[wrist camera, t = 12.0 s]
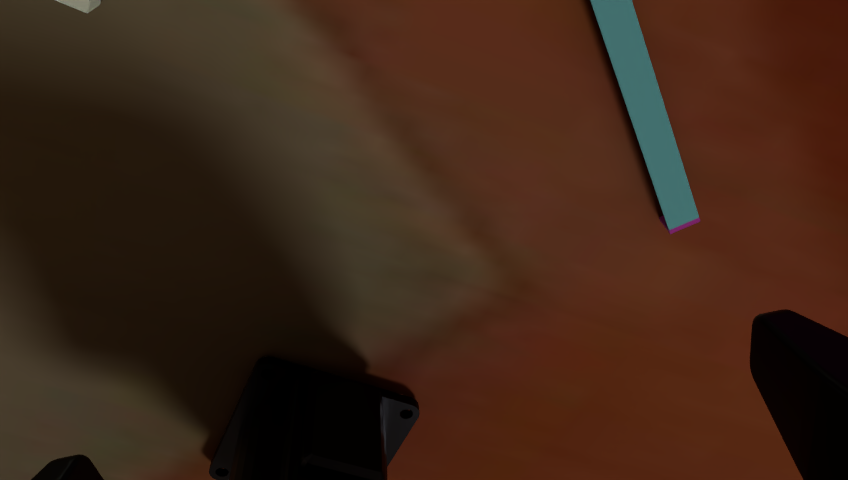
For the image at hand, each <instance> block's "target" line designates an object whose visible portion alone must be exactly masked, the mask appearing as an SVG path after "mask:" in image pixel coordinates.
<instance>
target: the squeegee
mask: <svg viewBox="0 0 848 480" xmlns="http://www.w3.org/2000/svg"><path fill="white" fill-rule="evenodd" d="M590 2H591V5H592V8H593V11H594V14H595V16H596V19H597V22H598V25H599V28H600V31H601V34H602V37H603V40H604V43H605V46H606V49H607V52H608V54H609V57H610V60H611V63H612V66H613V69H614V72H615V75H616V78H617V81H618V84H619V87H620V90H621V92H622V95H623V98H624V101H625V104H626V107H627V110H628V113H629V116H630V119H631V122H632V125H633V128H634V130H635V133H636V136H637V139H638V142H639V145H640V148H641V151H642V154H643V157H644V160H645V163H646V166H647V168H648V171H649V174H650V177H651V180H652V183H653V186H654V189H655V192H656V195H657V198H658V201H659V204H660V206H661V209H662V212H663V216H661V217H659V219H660V221H661V222H662V224H663V225H664V226H665V228H666V229H667V230H668V232H669V233H670V234H672V233H674V232H676V231H679V230H681V229H683V228H686V227H688V226H690V225H693V224H695V223H697V222H700V219H699V215H698V212H697V209H696V206H695V202H694V199H693V196H692V193H691V190H690V186H689V183H688V180H687V177H686V173H685V170H684V167H683V164H682V161H681V157H680V154H679V151H678V148H677V145H676V141H675V138H674V135H673V132H672V128H671V125H670V122H669V119H668V116H667V112H666V109H665V106H664V103H663V100H662V96H661V93H660V90H659V87H658V83H657V80H656V77H655V74H654V71H653V67H652V64H651V61H650V58H649V55H648V51H647V48H646V45H645V42H644V38H643V35H642V32H641V29H640V26H639V22H638V19H637V16H636V13H635V9H634V6H633V3H632V0H590Z"/></svg>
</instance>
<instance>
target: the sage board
mask: <svg viewBox="0 0 848 480" xmlns="http://www.w3.org/2000/svg"><path fill="white" fill-rule="evenodd" d="M56 1H58V2H60V3H63V4H65V5H68V6H70V7H73V8H75V9H78V10H80V11H82V12H85V13H89V12H90V11H92V10H93V9H95V8H96V7H98V6H99V5H100V3H101V0H56Z"/></svg>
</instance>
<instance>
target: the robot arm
mask: <svg viewBox="0 0 848 480" xmlns="http://www.w3.org/2000/svg"><path fill="white" fill-rule="evenodd" d="M265 369H271V370H273V372H266V371H264V370H265ZM750 369H751V373H752V376H753V379H754V381H755V383H756V385H757V387H758V389H759V391H760V393H761V395H762V397H763V399H764V401H765V403H766V405H767V407H768V409H769V411H770V413H771V415H772V418H773V420H774V422H775V424H776V426H777V428H778V430H779V432H780V434H781V436H782V438H783V440H784V442H785V444H786V446H787V448H788V450H789V452H790V454H791V456H792V458H793V460H794V462H795V464H796V466H797V468H798V470H799V472H800V474H801V476H802V478H803V480H848V337H846V336H844V335H842V334H840V333H838V332H836V331H834V330H832V329H829V328H827V327H825V326H823V325H821V324H819V323H817V322H815V321H813V320H810V319H808V318H806V317H804V316H802V315H800V314H798V313H796V312H793V311H791V310H778V311H773V312H768V313H763V314H759V315H757V316H756V317H755V318H754V320H753V324H752V334H751V349H750ZM405 409H409V411H402V410H405ZM418 417H419V405H418V402H417V401H416V400H415V399H413V398H411V397H407V396H404V395H400V394H397V393H394V392H390V391H387V390H384V389H380V388H377V387H373V386H370V385H367V384H363V383H360V382H356V381H353V380H350V379H346V378H343V377H340V376H336V375H333V374H329V373H326V372H323V371H319V370H316V369H313V368H309V367H306V366H302V365H299V364H296V363H292V362H289V361H285V360H282V359H279V358H275V357H270V356H267V357H262V358H260V359H259V360H258V361H257V362H256V364H255V366H254V368H253V370H252V373H251V375H250V377H249V379H248V382H247V384H246V386H245V388H244V390H243V393H242V395H241V397H240V399H239V401H238V404H237V406H236V408H235V410H234V412H233V415H232V417H231V419H230V421H229V423H228V426H227V428H226V430H225V432H224V435H223V437H222V439H221V441H220V443H219V446H218V448H217V450H216V452H215V454H214V457H213V459H212V461H211V465H210V469H209V474H210V476H211V477H212V478H214V479H216V480H387V466H388V465H389V463H390V462H391V460H392V458H393V457H394V455H395V454H396V452H397V450H398V449H399V447H400V446H401V444H402V442H403V441H404V439H405V438H406V436H407V435H408V433H409V431H410V430H411V428H412V427H413V425H414V423H415V422H416V420H417V419H418ZM223 468H225V469H223ZM31 480H104V479H103V478H102V476H101V475H100V473H99V472H98V471H97V469H96V468H95V466H94V465H93V463H92V462H91V460H90V459H89V458H88V457H86V456H84V455H73V456H69V457H64V458H59V459H56V460H53V461H51V462H49V463H48V464H47V465H46V466H45V467H44V468H43V469H42V470H41V471H40V472H39V473H38V474H37V475H36V476H35V477H33V478H32V479H31Z"/></svg>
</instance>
